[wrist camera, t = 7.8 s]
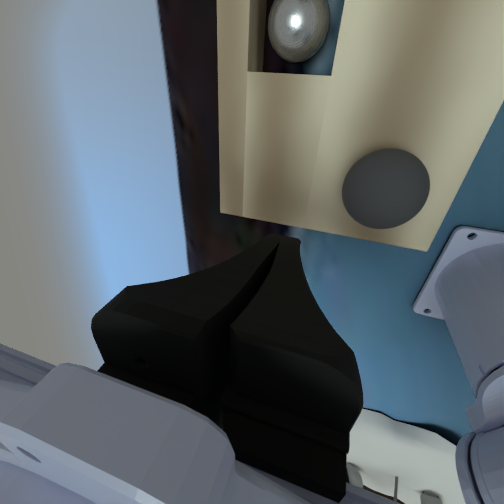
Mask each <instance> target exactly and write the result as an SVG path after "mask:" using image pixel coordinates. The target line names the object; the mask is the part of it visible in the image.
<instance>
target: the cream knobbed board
mask: <svg viewBox="0 0 504 504" xmlns="http://www.w3.org/2000/svg"><path fill="white" fill-rule="evenodd" d="M266 7H267V0H217V40H218V98H219V157H220V212H221V213H226V214H231V215H237V216H242V217H247V218H253V219H258V220H263V221H268V222H274V223H279V224H284V225H289V226H295V227H300V228H305V229H310V230H316V231H321V232H326V233H331V234H337V235H342V236H347V237H353V238H358V239H363V240H368V241H374V242H379V243H384V244H389V245H395V246H400V247H405V248H410V249H416V250H421V251H426V252H427V251H428V249H429V247H430V245H431V243H432V241H433V239H434V237H435V235H436V233H437V231H438V229H439V227H440V225H441V223H442V221H443V219H444V217H445V215H446V213H447V211H448V209H449V207H450V205H451V204H452V202H453V200H454V198H455V196H456V194H457V192H458V190H459V188H460V186H461V184H462V182H463V180H464V178H465V176H466V174H467V172H468V170H469V168H470V166H471V164H472V162H473V160H474V158H475V156H476V154H477V152H478V150H479V148H480V146H481V144H482V142H483V140H484V138H485V136H486V134H487V132H488V130H489V128H490V126H491V124H492V122H493V120H494V118H495V116H496V114H497V112H498V111H499V109H500V107H501V105H502V103H503V101H504V0H345V3H344V8H343V14H342V19H341V25H340V30H339V36H338V41H337V47H336V52H335V58H334V63H333V69H332V74H331V76H322V75H303V74H285V73H266V72H263V57H264V40H265V24H266ZM388 148H394V149H401V150H405V151H407V152H409V153H411V154H413V155H415V156H416V157H417V158H419V159H420V160H421V161H422V163H423V164H424V165H425V167H426V169H427V171H428V174H429V178H430V191H429V196H428V198H427V201H426V203H425V205H424V206H423V208H422V209H421V211H420V212H419V213H418V214H417V215H416V216H415V217H414V218H412V219H411V220H409V221H408V222H406V223H404V224H402V225H400V226H397V227H394V228H389V229H373V228H369V227H366V226H363V225H361V224H359V223H358V222H357V221H355V220H354V219H353V218H352V217H351V216H350V215H349V214H348V212H347V210H346V209H345V206H344V204H343V200H342V186H343V182H344V179H345V177H346V175H347V173H348V171H349V170H350V168H351V167H352V166H353V165H354V164H355V163H356V162H357V161H358V160H359V159H361V158H362V157H363V156H365V155H367V154H369V153H371V152H373V151H376V150H381V149H388Z"/></svg>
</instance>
